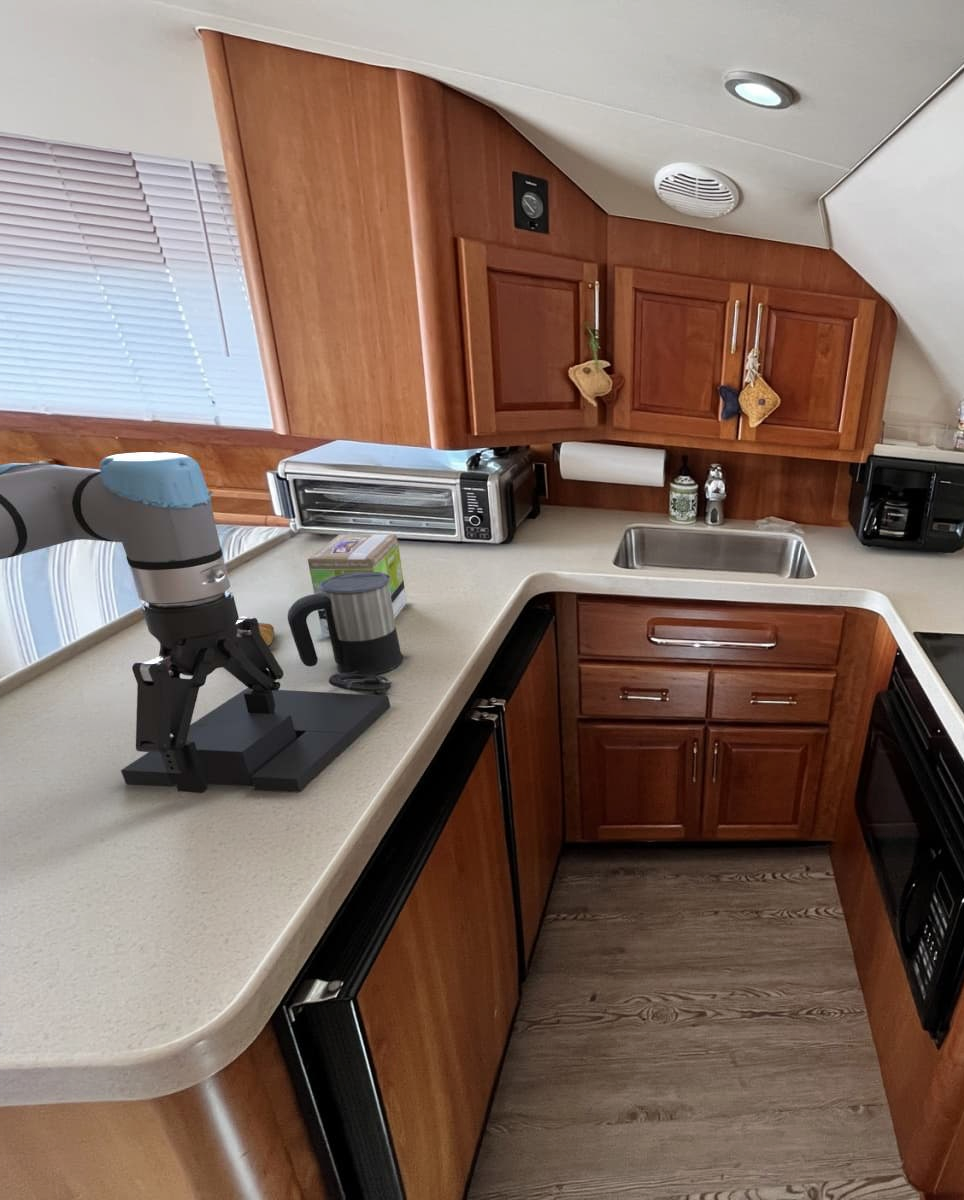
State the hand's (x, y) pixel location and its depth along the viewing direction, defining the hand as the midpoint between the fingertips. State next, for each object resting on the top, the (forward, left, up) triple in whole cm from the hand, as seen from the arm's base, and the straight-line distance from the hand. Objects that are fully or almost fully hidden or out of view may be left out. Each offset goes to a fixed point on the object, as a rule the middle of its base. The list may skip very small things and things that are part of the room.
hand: (232, 761), depth 78 cm
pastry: (-22, +31, -1) cm, 38 cm away
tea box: (-10, +44, -1) cm, 45 cm away
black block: (0, +1, -1) cm, 2 cm away
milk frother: (+2, +24, -1) cm, 24 cm away
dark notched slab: (0, +6, -1) cm, 6 cm away
